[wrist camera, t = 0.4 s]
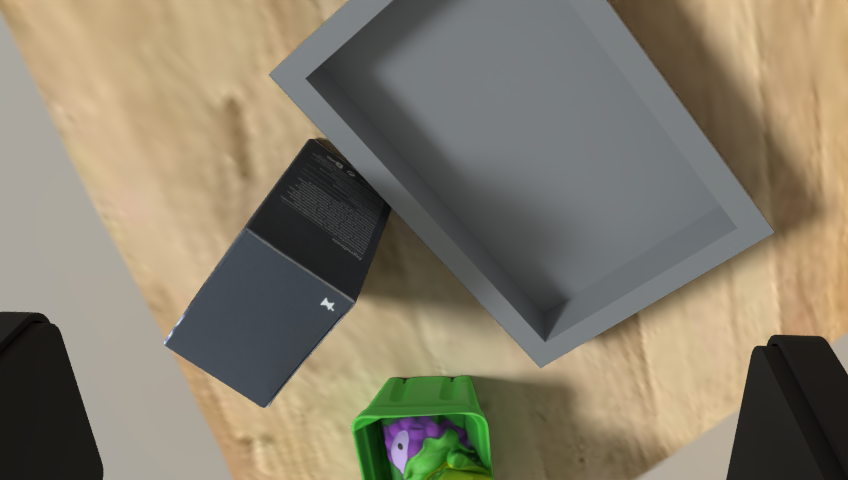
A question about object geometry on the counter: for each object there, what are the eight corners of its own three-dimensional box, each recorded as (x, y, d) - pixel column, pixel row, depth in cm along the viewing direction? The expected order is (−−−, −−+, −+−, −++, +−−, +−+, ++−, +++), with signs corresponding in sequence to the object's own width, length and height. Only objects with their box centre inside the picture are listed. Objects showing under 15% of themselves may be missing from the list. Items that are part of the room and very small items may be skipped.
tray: (504, -144, 32) (503, -142, 29) (754, 200, 38) (774, 232, 35) (289, 54, 37) (268, 74, 34) (538, 330, 43) (540, 368, 40)
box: (310, 133, 39) (244, 226, 30) (397, 196, 40) (361, 305, 31) (236, 236, 42) (157, 347, 33) (319, 291, 44) (265, 414, 34)
